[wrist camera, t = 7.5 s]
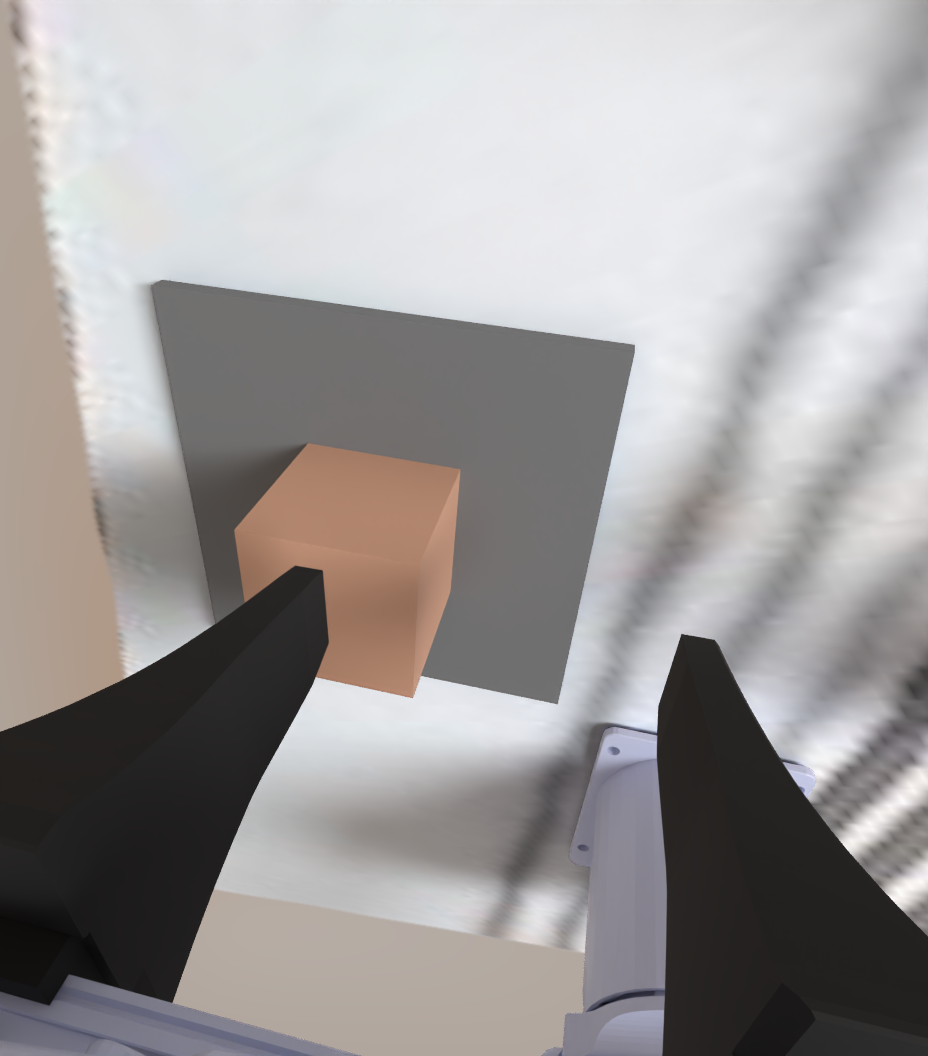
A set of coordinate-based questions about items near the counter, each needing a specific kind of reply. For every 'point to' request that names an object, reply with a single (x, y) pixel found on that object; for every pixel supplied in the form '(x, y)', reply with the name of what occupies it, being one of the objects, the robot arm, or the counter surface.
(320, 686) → the counter surface
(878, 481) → the counter surface
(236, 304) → the mat
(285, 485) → the cube
